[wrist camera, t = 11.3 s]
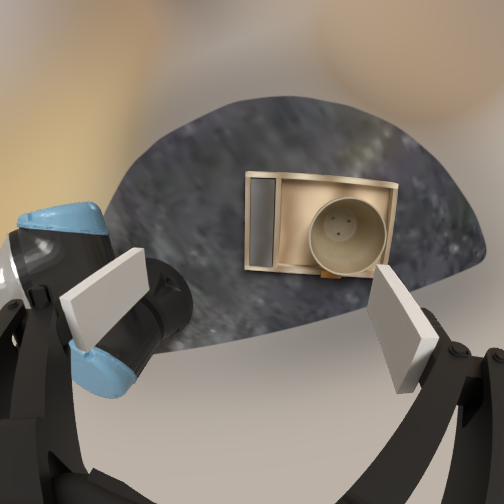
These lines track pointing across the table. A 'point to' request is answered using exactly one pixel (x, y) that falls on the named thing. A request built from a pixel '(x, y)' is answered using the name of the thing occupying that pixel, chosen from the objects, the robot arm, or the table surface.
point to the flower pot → (347, 236)
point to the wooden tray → (303, 217)
